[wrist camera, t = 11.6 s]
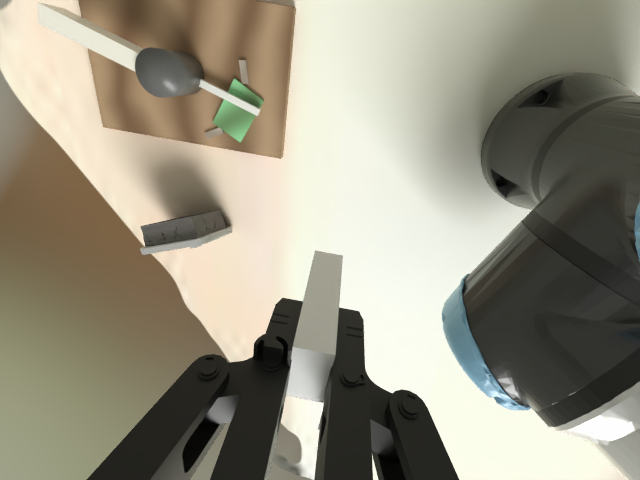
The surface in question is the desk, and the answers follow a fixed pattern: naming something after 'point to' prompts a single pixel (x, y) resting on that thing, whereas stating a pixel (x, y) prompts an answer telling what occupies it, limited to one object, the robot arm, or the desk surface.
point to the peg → (138, 58)
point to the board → (218, 66)
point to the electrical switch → (184, 232)
